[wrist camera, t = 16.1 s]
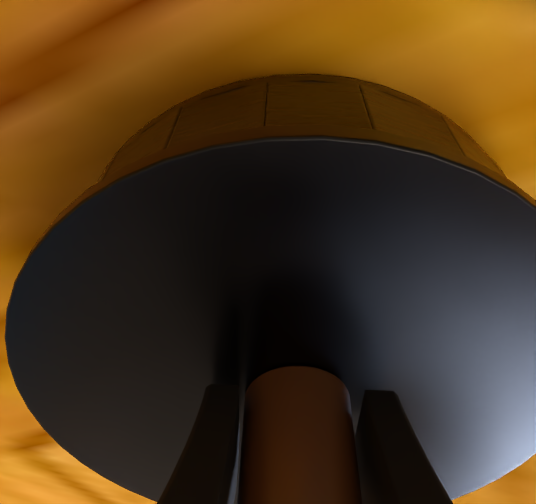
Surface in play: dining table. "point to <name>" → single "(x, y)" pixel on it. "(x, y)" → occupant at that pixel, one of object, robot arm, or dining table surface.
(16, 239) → the dining table surface
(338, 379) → the pan lid
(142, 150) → the pan
